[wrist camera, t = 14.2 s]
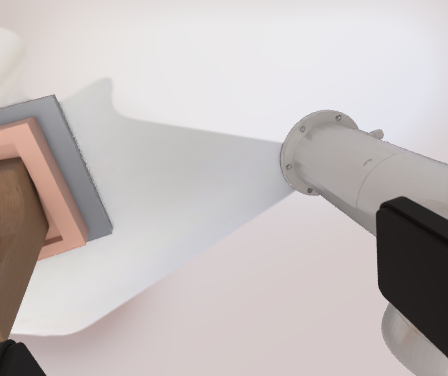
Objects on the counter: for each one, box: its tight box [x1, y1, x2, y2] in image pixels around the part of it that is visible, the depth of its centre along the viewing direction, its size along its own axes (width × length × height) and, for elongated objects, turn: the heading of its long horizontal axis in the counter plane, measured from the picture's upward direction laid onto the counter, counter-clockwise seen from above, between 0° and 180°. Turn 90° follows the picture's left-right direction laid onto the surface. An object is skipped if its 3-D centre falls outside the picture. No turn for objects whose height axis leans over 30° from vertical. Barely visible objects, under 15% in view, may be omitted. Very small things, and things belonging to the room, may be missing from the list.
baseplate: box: [0, 95, 112, 261], centre depth 39 cm, size 16×18×5 cm
